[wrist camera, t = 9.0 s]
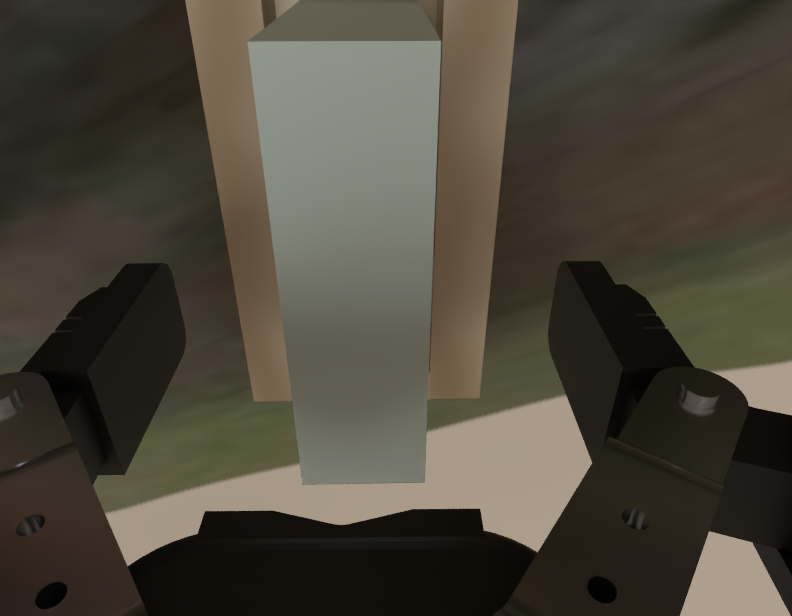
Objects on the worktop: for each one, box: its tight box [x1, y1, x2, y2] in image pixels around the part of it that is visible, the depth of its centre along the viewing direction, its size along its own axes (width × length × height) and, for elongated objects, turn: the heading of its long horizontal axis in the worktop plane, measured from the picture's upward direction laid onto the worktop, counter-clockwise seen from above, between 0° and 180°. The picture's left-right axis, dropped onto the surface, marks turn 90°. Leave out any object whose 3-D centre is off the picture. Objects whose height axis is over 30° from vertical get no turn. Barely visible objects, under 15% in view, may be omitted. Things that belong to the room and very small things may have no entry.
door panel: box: [248, 0, 441, 485], centre depth 15 cm, size 3×10×8 cm, turn 0°
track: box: [185, 0, 518, 402], centre depth 18 cm, size 8×15×3 cm, turn 0°
